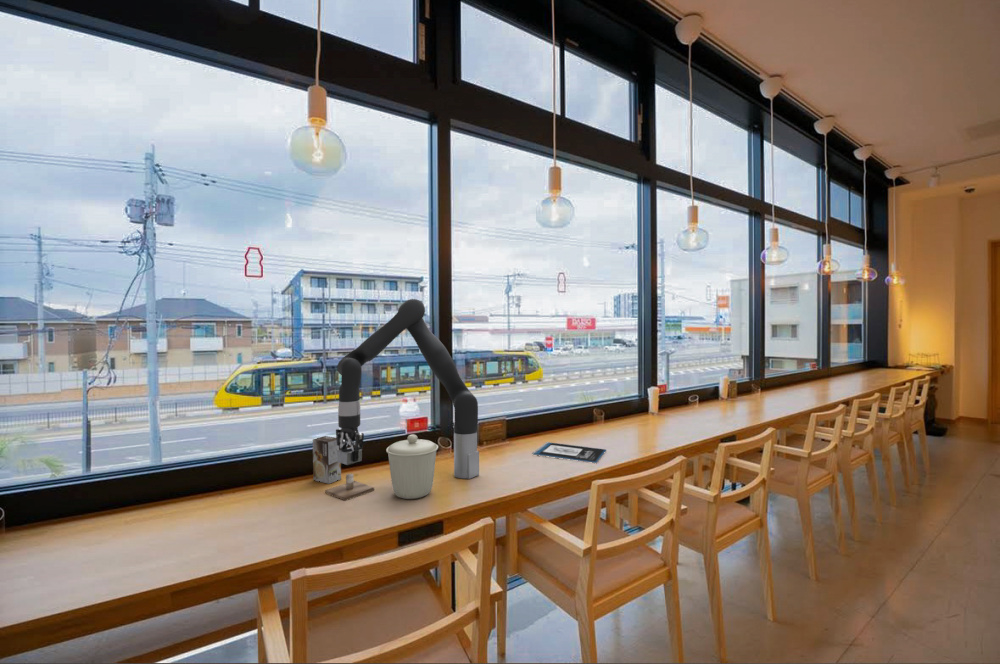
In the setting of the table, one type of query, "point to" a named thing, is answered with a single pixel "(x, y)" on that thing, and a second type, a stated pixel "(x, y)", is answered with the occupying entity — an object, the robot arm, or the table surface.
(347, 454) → the collar
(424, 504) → the table surface
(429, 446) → the canister
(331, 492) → the post stand
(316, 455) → the coffee box
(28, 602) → the table surface
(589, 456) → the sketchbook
